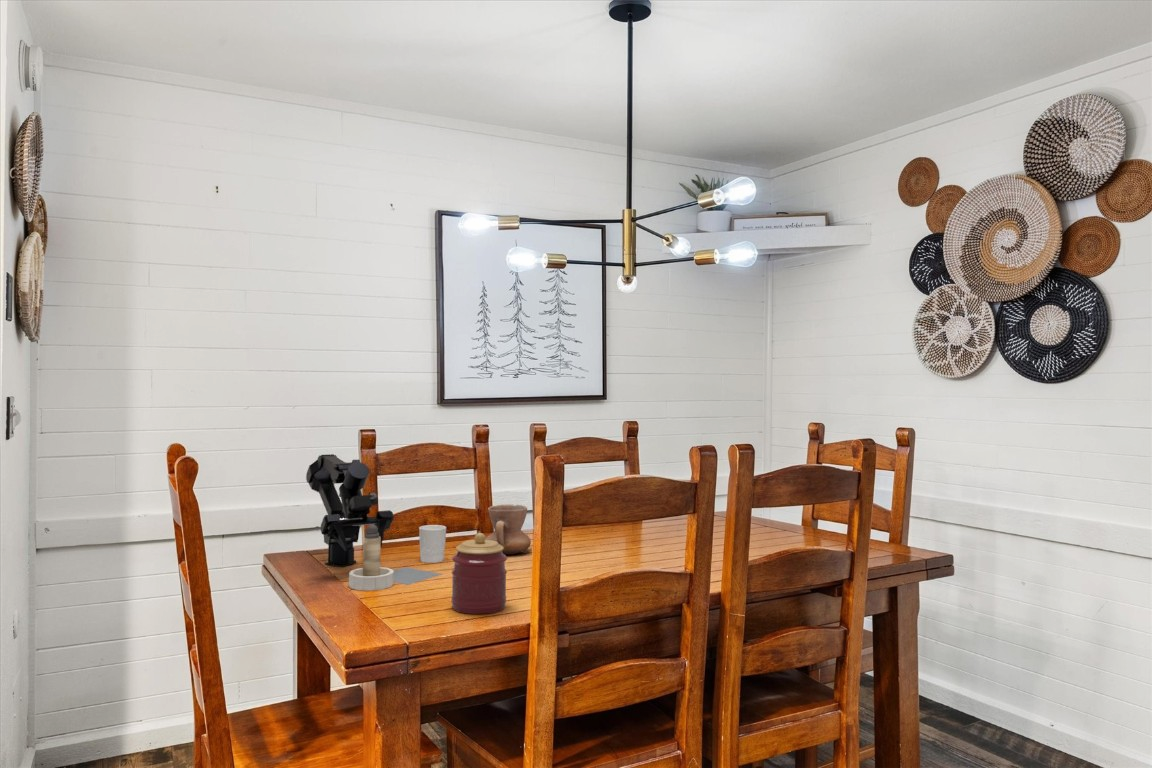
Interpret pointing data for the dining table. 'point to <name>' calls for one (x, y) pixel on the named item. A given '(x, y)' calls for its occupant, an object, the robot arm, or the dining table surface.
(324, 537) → the robot arm
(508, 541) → the ceramic jug
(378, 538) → the pepper mill
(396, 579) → the felt mat
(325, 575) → the dining table surface
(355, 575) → the bowl
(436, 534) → the white cup
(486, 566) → the canister
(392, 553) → the dining table surface
